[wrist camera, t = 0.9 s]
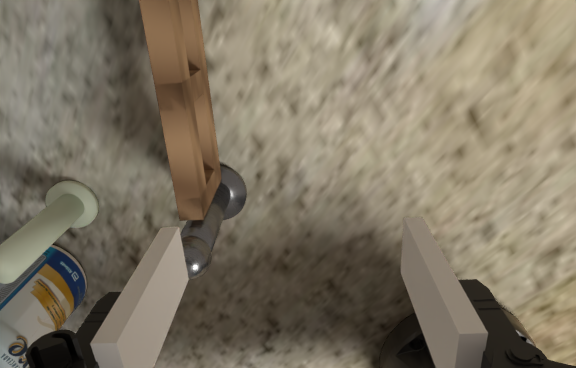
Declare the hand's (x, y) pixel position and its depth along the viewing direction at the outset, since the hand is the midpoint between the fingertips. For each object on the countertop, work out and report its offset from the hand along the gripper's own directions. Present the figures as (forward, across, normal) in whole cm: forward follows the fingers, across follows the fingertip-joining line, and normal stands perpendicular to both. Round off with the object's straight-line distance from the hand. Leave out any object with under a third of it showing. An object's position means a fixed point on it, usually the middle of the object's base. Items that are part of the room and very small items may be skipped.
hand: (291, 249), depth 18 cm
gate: (+16, +7, -5) cm, 18 cm away
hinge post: (+18, +7, +5) cm, 20 cm away
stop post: (+18, +20, +6) cm, 27 cm away
